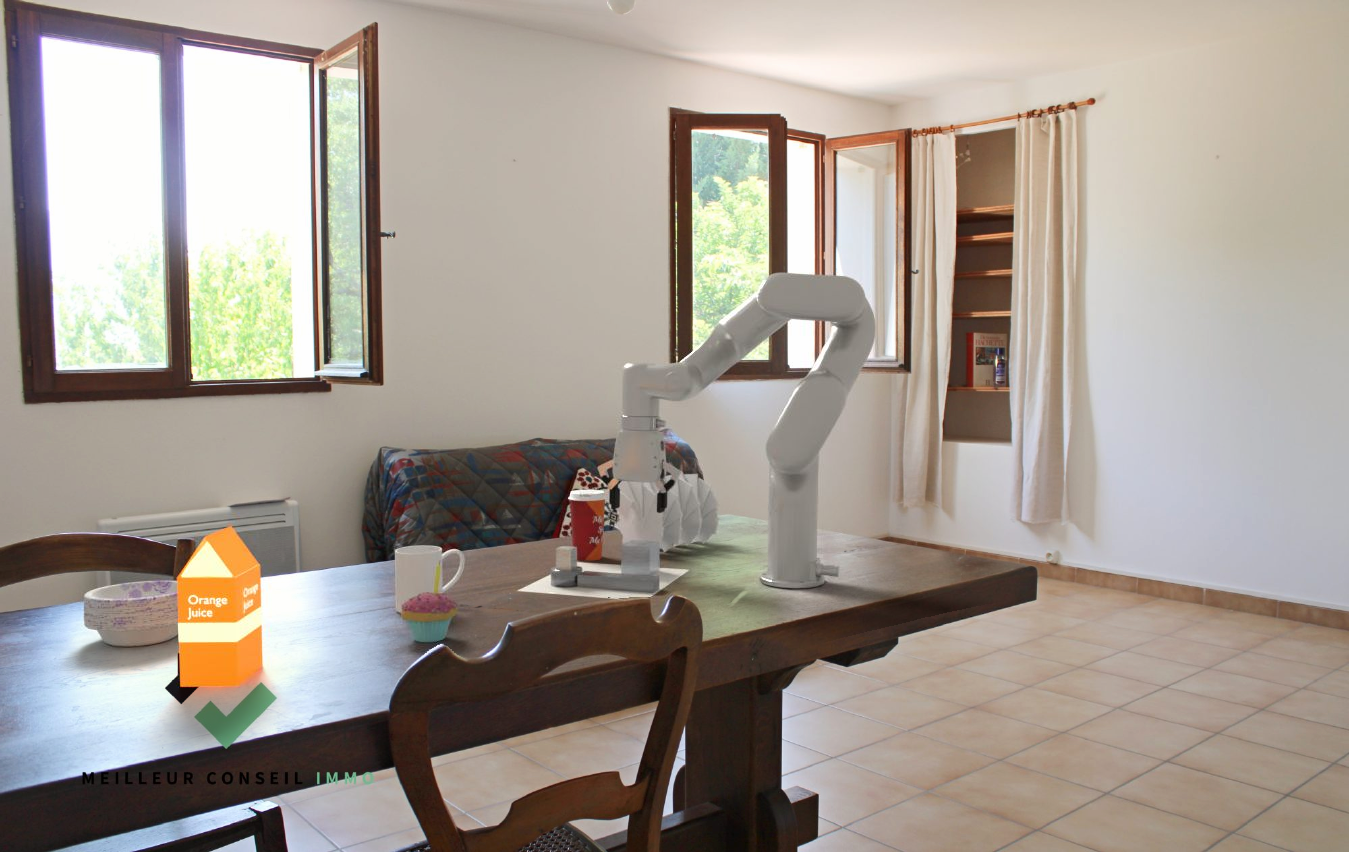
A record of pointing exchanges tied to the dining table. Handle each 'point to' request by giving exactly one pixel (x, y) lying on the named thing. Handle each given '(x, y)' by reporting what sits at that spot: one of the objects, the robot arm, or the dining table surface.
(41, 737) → the dining table surface
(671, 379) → the robot arm
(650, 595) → the white square board
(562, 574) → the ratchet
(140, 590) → the paper bowls
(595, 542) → the coffee cup
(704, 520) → the white pleated paper lantern
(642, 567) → the light gray cube
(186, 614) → the orange juice
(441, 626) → the cupcake
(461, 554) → the mug
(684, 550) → the dining table surface
